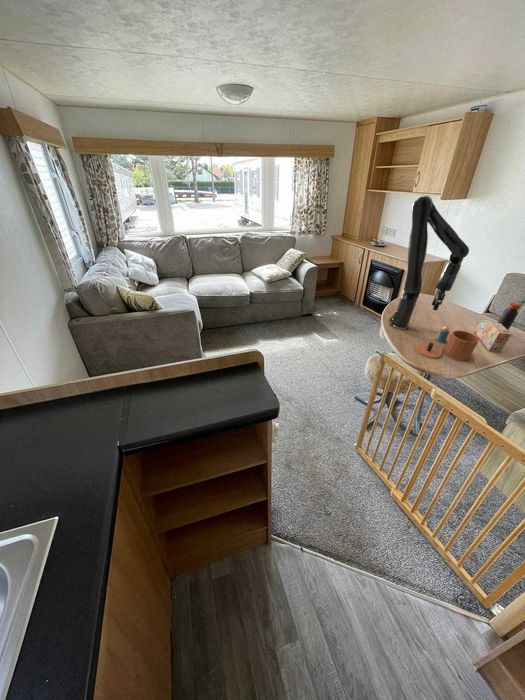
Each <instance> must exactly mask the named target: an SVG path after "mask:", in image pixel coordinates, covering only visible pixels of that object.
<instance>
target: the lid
mask: <svg viewBox="0 0 525 700" xmlns="http://www.w3.org/2000/svg"><path fill="white" fill-rule="evenodd" d="M415 350H416V352H417V353H419V354H420V355H422V356H424V357H426V358H432V359H437V358H441V357H442V354H443V352H442V350H440V349H439V348H438V347H437V346H435V343H434V342H432V341H429V343H417V344H416V346H415Z"/></svg>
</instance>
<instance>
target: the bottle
mask: <svg viewBox="0 0 525 700" xmlns="http://www.w3.org/2000/svg"><path fill="white" fill-rule="evenodd" d="M521 306H522V305H521V304H520V303H517V302H510V303H509V305H508V308H506V309H504V311H502V314H501V316H500V318H499V319H498V321H497V323H500V324H502V325H503V326H504V327H505V328H506V329H507V330H508V331H509V330H510V328H511V327H512V325H513V323H514V322H515V320H516V318H517V317H518V315H519V311H518V310H519V309H520V308H521Z"/></svg>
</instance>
